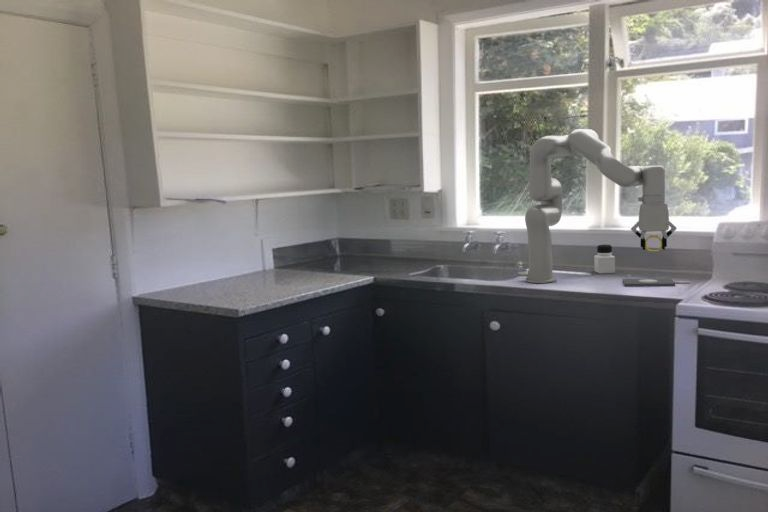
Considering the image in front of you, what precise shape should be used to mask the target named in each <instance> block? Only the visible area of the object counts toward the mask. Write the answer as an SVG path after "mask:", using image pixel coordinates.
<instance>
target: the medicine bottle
mask: <svg viewBox="0 0 768 512" xmlns="http://www.w3.org/2000/svg"><path fill="white" fill-rule="evenodd" d="M596 248H597V252H596V253H597V254H595V255H593V256H594V258H593V260H594V261H593V262H594V272H595V273H598V274H601V275H602V274H615V273H616V256H614V255H613V246H612V245H611V244H598V245H597V247H596Z"/></svg>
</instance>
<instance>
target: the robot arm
mask: <svg viewBox="0 0 768 512" xmlns="http://www.w3.org/2000/svg"><path fill="white" fill-rule="evenodd" d="M574 155H580V156H581V157H583V158H584V159H586V160H587V161H589V162H590V163H592V164H593V165H595V166H596V168H597V169H598V170H599V172H600V173H601V174H602V175H603V176H604V177H606V178H607V179H608V180H610V181H612V182H613V183H615V184H616V185H617V186H619V187H622V188H629V187H640V186H642V192H641V193H642V196H639V197H637V200H638V202H642V203H641V204H639V211H638V221H637V222H635V224H634V225H632V227H631V228H630V230H631V231H632V233H634V234H635V235H636V236H637V237H638V238H640V248H642V251H645V250H646V247H645V241H646V238H645V235H647V233H648V232H650V233H652V232H661V235H662V238H661V240H662V248H661V250H664V251H665V250H666V248H667V246H668V244H667V243H668V241H667V239H668V238H669V237H670V236H671V235H672V234H673V233H674V232H675V231H676V230H677V226H675V225H674V224H673V223H672V222H671V221H670V214H669V206H668V203H667V202H666V200H665V199H666V195H665V193H666V192H665V191H666V190H665V189H666V186H665V183H666V181H665V180H666V173H665V172H666V169H665V167H664V166H663V165H646V166H645V165H644V166H643V165H626V164H625V163H623V162H621V160H618V159H617V158H616V157H615V156H613V154H612V149H611V146H609V145H608V144H606V143H605V142H604V141H602V140H601V139H600V136H599V134H598V133H597V132H596V131H594V130H593V129H590V128H577V129H573V130H572V131H571V132H570V133H569V134H565V135H545V136H542V137H540V138H538V139H537V140H535V142H533V144H532V146H531V148H530V152H529V184H528V185H529V187H528V192H529V197H530V199H531V200H532V201H534V202H540V204H535V205H532V206H531V207H529V208H528V210H526V212H525V215H524V222H525V226H526V230H527V231H526V232H527V244H528V246H527V248H528V250H527V251H528V270H525V271H518V272H517V276H518V277H525V278H524V279H525V282H526V283H531V284H546V283H549V284H550V283H554V282H556V281H558V280H557V277H556V276H554V275H553V244H552V242H553V241H552V234H551V230H550V227H553V226H555V225H557V224H558V223H559V222H560V220H561V218H562V214H563V213H562V212H563V211H562V210H563V208H562V207H563V187H562V184H561V182H560V181H559V180H558V179H557V178H555V177H552V166H551V165H552V163H551V162H550V158H558V157H559V158H560V157H562V158H563V157H568V156H574ZM637 228H638V229H639V231H638V230H637ZM669 228H670V229H669ZM640 231H641V232H640Z"/></svg>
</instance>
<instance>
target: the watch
mask: <svg viewBox="0 0 768 512" xmlns="http://www.w3.org/2000/svg"><path fill="white" fill-rule="evenodd" d="M650 238H651V239H652V238H656V239H658V240H659V241H660V246H659V249H649V247H648V245H647V242H648V240H649V239H650ZM645 250H647V252H659V251H660V250H662V238H661V237H659V236H658V234H650V235H649V236H648V237H647V238H645Z"/></svg>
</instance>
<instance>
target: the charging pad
mask: <svg viewBox="0 0 768 512" xmlns="http://www.w3.org/2000/svg"><path fill="white" fill-rule="evenodd" d="M691 283H692V281H690V280H689V281H688V280H686V281H685V280H684V281H683V280H678V281H676V280H675V281H674V280H673V279H672V278H671V277H670V278H669V277H667V278H666V277H665V278H663V277H662V278H661V277H658V278H622V284H623V287H676V284H691Z"/></svg>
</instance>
